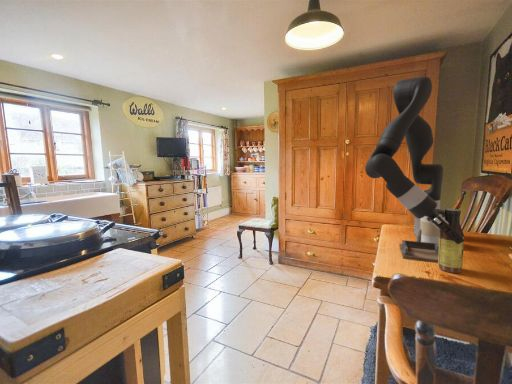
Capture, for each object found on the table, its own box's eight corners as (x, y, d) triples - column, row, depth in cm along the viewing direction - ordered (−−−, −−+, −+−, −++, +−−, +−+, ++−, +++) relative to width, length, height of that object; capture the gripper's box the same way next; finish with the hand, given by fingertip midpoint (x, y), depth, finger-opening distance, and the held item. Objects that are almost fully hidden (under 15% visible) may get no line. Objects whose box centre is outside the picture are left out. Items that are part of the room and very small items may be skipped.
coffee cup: (418, 239, 111) (420, 206, 109) (443, 242, 106) (446, 208, 104) (418, 244, 104) (420, 209, 102) (445, 248, 99) (447, 211, 97)
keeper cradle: (399, 246, 103) (400, 227, 102) (437, 250, 98) (438, 230, 97) (403, 258, 91) (404, 237, 90) (446, 263, 85) (448, 241, 84)
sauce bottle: (466, 274, 77) (471, 212, 74) (443, 273, 78) (448, 211, 76) (454, 265, 83) (458, 207, 81) (433, 264, 85) (437, 207, 82)
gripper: (431, 196, 74) (476, 237, 71) (422, 190, 87) (460, 225, 84) (409, 212, 77) (452, 252, 74) (404, 204, 90) (440, 238, 87)
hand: (456, 238), depth 79 cm, fingers open, 8 cm apart
